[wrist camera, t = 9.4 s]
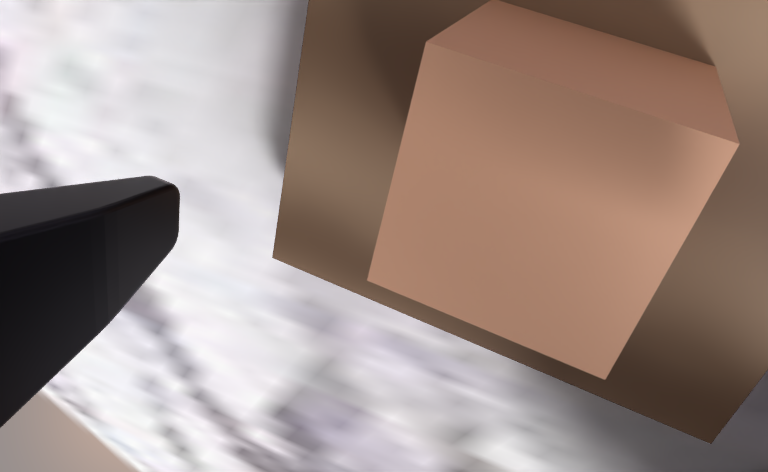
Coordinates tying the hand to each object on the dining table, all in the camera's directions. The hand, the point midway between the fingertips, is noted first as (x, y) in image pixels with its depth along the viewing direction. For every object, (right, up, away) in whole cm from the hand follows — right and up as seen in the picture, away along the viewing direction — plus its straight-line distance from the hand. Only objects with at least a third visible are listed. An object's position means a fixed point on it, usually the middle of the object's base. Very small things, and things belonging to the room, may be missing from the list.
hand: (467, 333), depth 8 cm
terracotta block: (+3, +4, +7) cm, 9 cm away
